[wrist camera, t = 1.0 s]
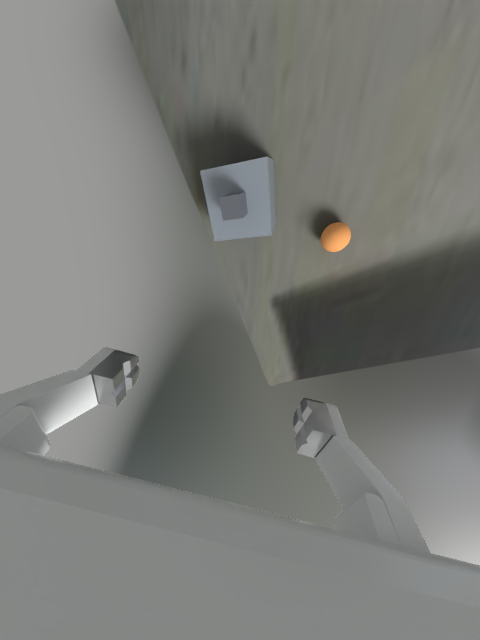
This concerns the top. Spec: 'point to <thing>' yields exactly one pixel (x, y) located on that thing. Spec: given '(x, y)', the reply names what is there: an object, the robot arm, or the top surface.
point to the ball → (335, 237)
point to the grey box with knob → (241, 199)
